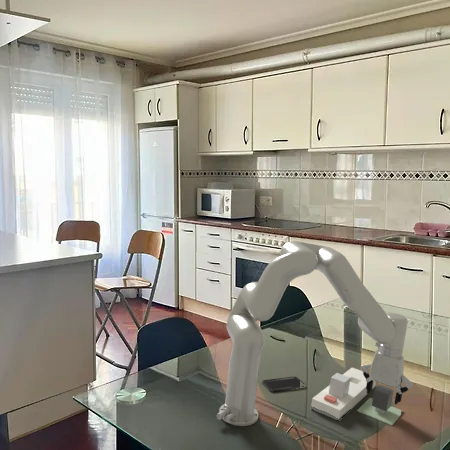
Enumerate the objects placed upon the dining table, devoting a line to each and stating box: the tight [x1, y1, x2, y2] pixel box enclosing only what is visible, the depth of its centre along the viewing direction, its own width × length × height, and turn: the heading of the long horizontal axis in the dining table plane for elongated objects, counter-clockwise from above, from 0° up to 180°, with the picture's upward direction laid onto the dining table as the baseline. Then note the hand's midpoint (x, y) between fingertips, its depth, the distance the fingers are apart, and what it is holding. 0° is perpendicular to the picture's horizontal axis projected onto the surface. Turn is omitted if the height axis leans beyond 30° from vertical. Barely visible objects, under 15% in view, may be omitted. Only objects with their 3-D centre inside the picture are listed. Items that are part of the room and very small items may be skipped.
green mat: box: [356, 397, 402, 426], centre depth 172 cm, size 12×12×1 cm
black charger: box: [372, 383, 394, 414], centre depth 172 cm, size 5×5×8 cm
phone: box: [261, 376, 305, 394], centre depth 184 cm, size 8×1×15 cm
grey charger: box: [329, 372, 350, 399], centre depth 173 cm, size 5×5×8 cm
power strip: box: [310, 367, 377, 419], centre depth 179 cm, size 34×10×5 cm, turn 144°
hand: (382, 397), depth 171 cm, fingers open, 9 cm apart
